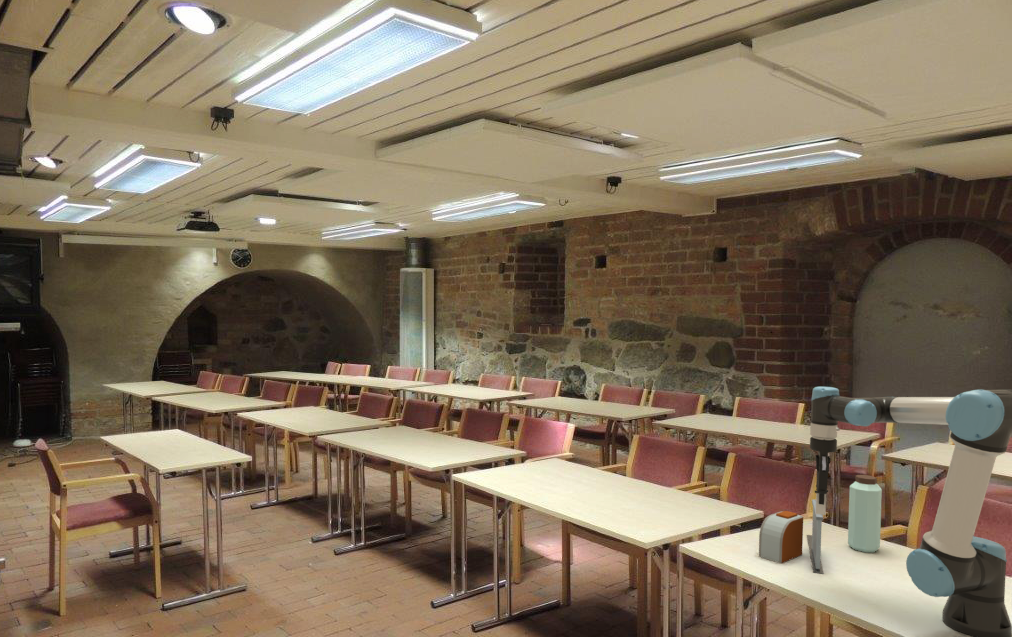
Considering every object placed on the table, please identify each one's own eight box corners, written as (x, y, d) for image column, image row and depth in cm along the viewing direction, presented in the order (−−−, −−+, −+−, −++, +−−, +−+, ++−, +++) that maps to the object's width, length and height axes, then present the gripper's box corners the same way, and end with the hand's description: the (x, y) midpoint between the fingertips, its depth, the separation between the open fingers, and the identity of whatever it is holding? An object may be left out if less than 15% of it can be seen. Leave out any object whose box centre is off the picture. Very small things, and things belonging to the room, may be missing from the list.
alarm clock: (780, 547, 243) (782, 508, 243) (804, 554, 236) (805, 514, 236) (757, 555, 233) (758, 515, 233) (781, 563, 227) (782, 521, 226)
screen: (821, 569, 220) (823, 517, 220) (814, 568, 221) (816, 516, 221) (816, 547, 241) (818, 500, 241) (810, 546, 242) (812, 499, 241)
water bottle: (841, 545, 246) (843, 474, 245) (860, 542, 250) (863, 472, 249) (866, 555, 236) (868, 481, 236) (886, 551, 241) (888, 479, 240)
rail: (823, 573, 218) (823, 573, 218) (813, 572, 219) (813, 571, 219) (815, 536, 255) (815, 535, 255) (806, 535, 256) (806, 534, 256)
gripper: (839, 442, 207) (835, 521, 208) (835, 435, 219) (832, 509, 220) (811, 440, 210) (808, 518, 210) (809, 432, 222) (806, 506, 222)
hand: (820, 513), depth 215 cm, fingers closed
